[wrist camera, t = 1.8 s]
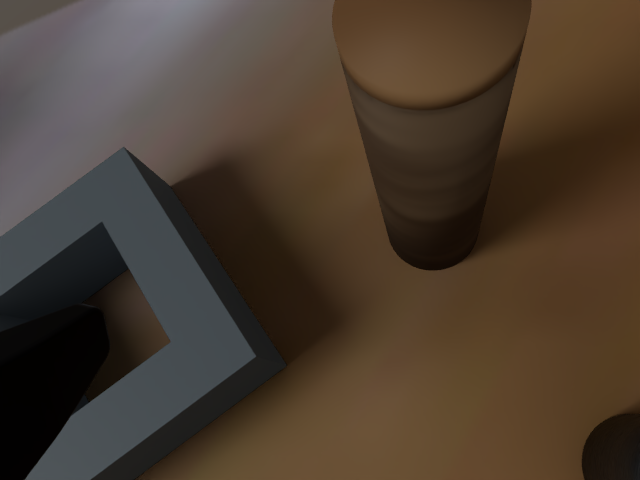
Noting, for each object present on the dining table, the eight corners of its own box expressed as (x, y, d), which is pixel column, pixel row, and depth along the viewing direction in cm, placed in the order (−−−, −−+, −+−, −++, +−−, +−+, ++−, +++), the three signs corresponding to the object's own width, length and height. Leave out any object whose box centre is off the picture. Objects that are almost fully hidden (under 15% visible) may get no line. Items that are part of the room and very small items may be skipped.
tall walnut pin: (497, 233, 22) (577, 8, 10) (424, 288, 22) (410, 130, 9) (439, 169, 23) (443, -103, 11) (370, 221, 23) (296, 5, 11)
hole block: (287, 365, 22) (256, 356, 18) (83, 517, 22) (9, 539, 18) (169, 185, 25) (123, 146, 22) (-7, 315, 25) (-84, 298, 21)
